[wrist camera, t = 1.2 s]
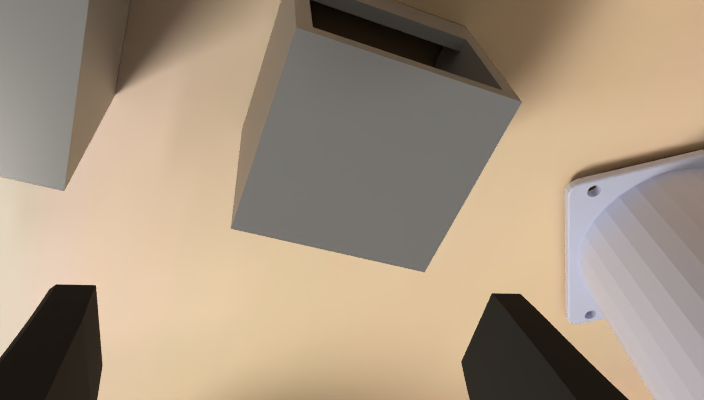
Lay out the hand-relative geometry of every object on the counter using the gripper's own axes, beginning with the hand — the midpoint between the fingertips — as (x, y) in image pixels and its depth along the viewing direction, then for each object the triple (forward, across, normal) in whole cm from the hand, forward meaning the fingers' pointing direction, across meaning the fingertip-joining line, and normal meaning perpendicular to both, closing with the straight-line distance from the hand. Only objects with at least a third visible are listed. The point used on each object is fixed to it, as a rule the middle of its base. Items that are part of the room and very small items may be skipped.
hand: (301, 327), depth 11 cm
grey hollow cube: (+10, -3, 0) cm, 11 cm away
